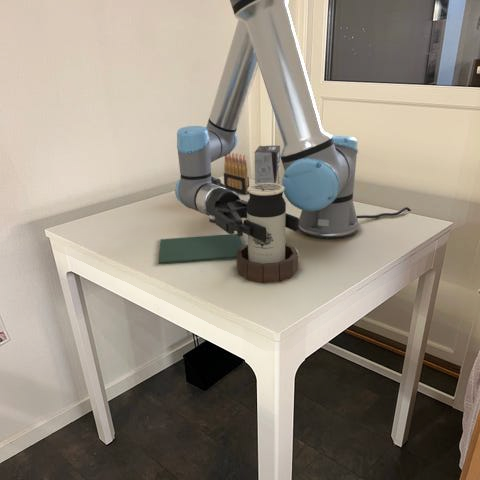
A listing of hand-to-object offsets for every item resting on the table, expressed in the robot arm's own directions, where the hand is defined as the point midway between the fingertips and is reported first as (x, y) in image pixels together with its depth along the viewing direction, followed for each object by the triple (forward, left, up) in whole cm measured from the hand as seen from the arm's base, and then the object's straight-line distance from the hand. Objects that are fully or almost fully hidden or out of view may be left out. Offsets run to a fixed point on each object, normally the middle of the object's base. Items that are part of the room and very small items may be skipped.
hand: (281, 229), depth 97 cm
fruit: (+11, -54, -11) cm, 56 cm away
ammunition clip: (+3, -65, -11) cm, 66 cm away
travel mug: (+2, -4, -11) cm, 12 cm away
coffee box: (-5, -49, -11) cm, 50 cm away
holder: (+2, -4, -11) cm, 12 cm away
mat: (+16, -18, -11) cm, 27 cm away
